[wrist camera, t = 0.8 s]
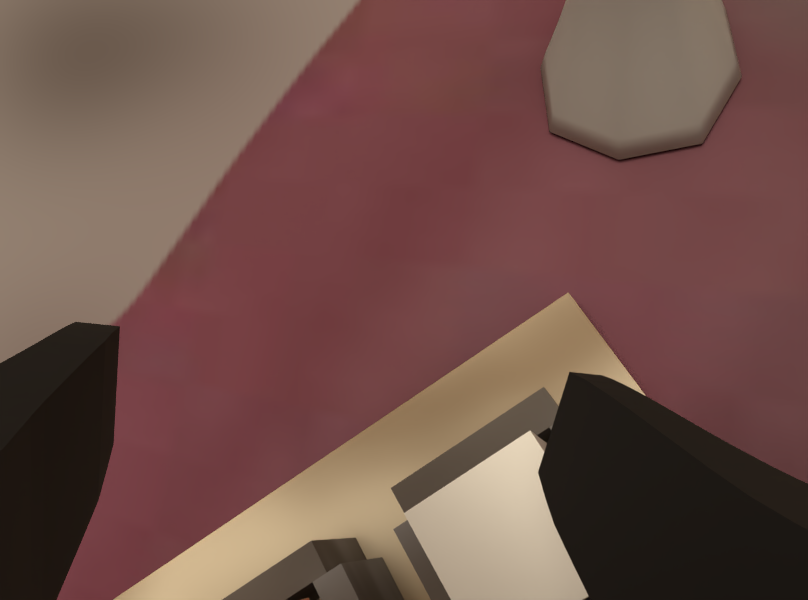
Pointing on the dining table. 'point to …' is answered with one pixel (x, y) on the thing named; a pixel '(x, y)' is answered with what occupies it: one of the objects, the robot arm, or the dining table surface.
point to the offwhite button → (497, 531)
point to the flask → (638, 73)
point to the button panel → (390, 479)
